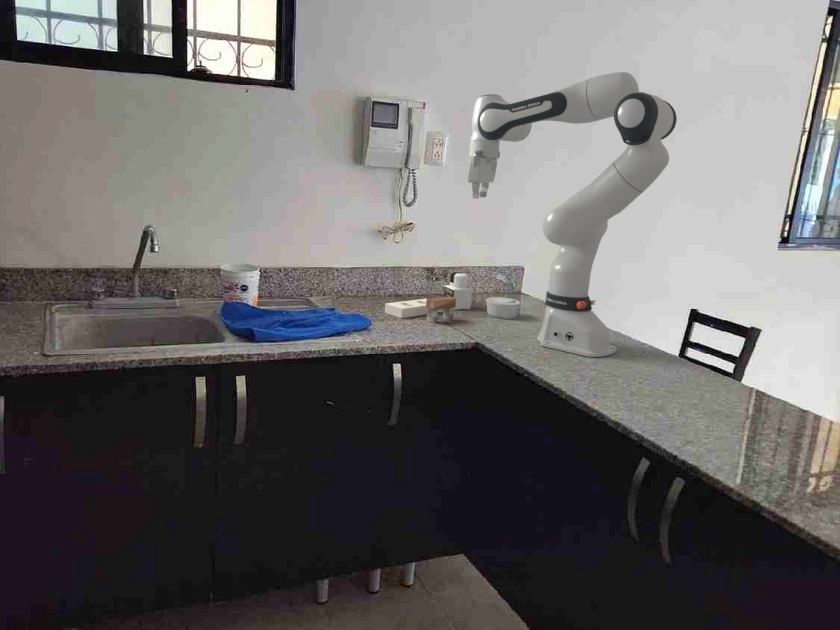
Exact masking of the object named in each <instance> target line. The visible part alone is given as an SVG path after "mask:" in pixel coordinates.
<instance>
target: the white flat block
mask: <svg viewBox="0 0 840 630" xmlns="http://www.w3.org/2000/svg"><path fill="white" fill-rule="evenodd" d="M427 299H428V298H420V299H411V300H403V301H397V302H388V303H387V302H386V303H385V305H384V314H388V315H391V316H393V317H397V318H400V319H405V318H411V317H417V316H418V317H419V316H427V309H426V300H427ZM438 312H440V313H443V309H441V310H438Z"/></svg>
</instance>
